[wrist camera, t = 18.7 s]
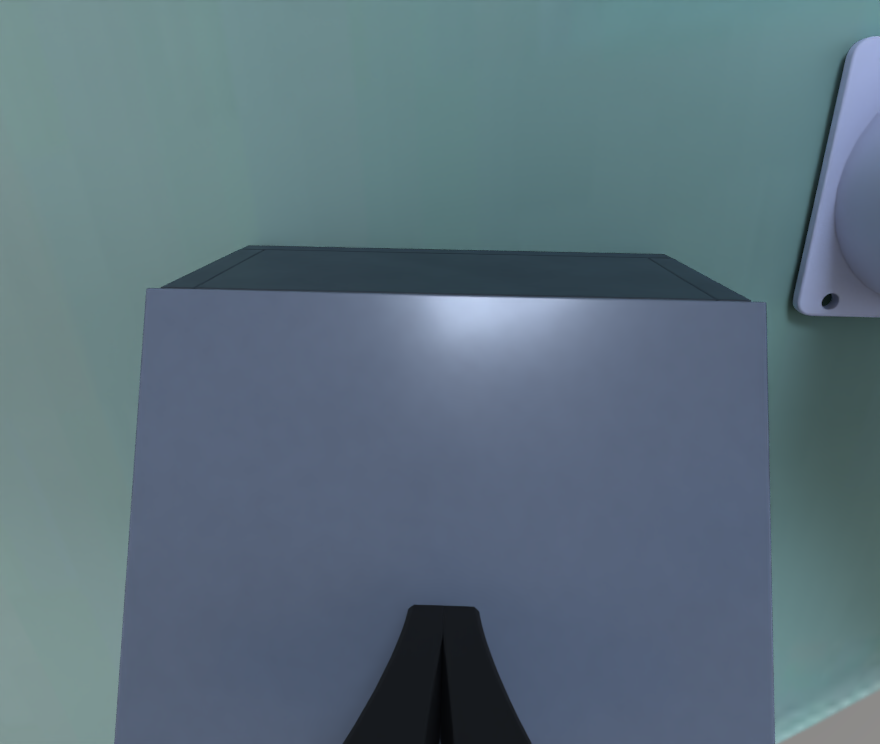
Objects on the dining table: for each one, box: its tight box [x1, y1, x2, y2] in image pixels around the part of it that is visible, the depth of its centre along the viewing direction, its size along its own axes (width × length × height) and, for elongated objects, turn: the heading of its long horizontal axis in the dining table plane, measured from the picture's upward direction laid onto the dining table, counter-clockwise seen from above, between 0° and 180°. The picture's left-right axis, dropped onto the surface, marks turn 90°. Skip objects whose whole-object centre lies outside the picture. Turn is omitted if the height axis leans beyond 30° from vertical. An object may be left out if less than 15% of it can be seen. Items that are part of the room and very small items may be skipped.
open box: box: [161, 245, 751, 302], centre depth 19 cm, size 12×14×6 cm
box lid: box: [114, 288, 775, 744], centre depth 13 cm, size 12×14×1 cm
